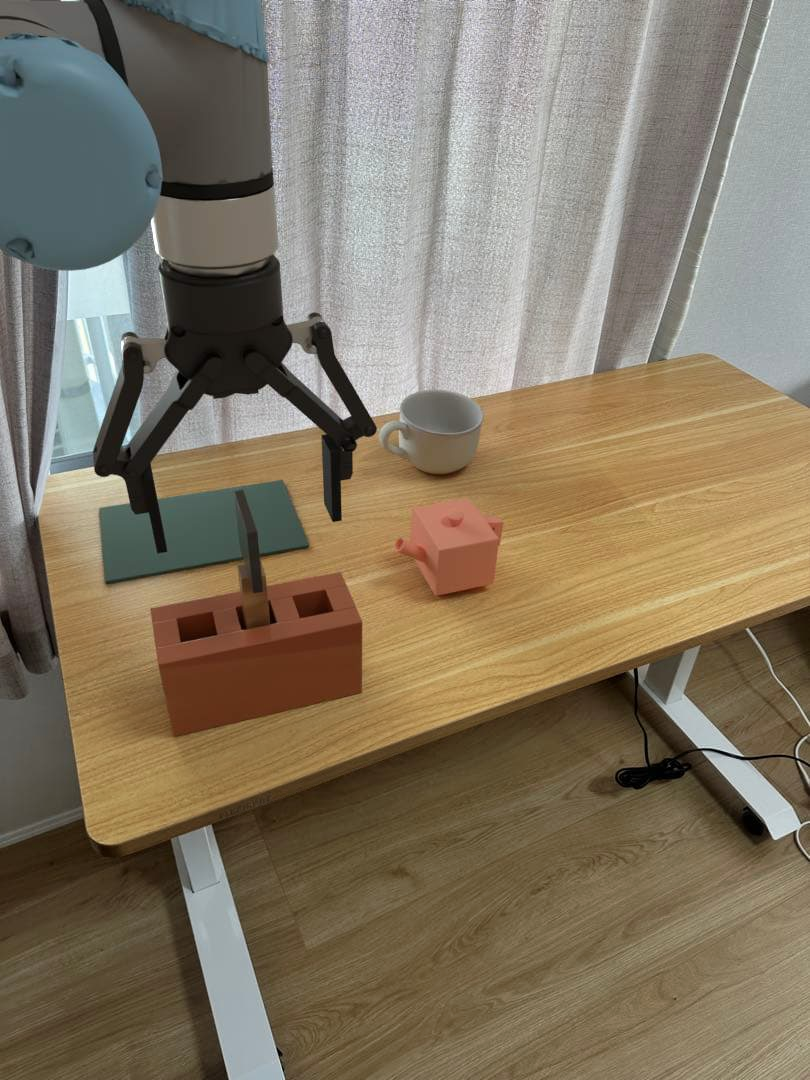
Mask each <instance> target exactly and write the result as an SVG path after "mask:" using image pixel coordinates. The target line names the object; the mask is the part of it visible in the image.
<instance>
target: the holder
mask: <svg viewBox="0 0 810 1080" xmlns="http://www.w3.org/2000/svg"><path fill="white" fill-rule="evenodd" d="M267 595H268V606H269V617H270V625H266V626H261V627H256V628H251V629H246V630H245V627H244V619H243V610H242V602H241V593H240V590H238V591H233V592H228V593H222V594H217V595H211V596H206V597H201V598H195V599H189V600H186V601H180V602H176V603H175V602H174V603H170V604H164V605H159V606H154V607H150V608H149V610H150V617H151V618H150V619H151V624H152V630H153V632H152V633H153V638H154V639H153V640H154V646H155V652H156V653H155V654H156V659H157V666H158V671H159V675H160V679H161V685H162V689H163V693H164V698H165V702H166V703H165V704H166V707H167V711H168V716H169V717H168V718H169V721H170V727H171V730H172V736H173V737H179V736H184V735H187V734H192V733H197V732H201V731H204V730H209V729H214V728H217V727H221V726H226V725H230V724H235V723H238V722H243V721H247V720H251V719H256V718H259V717H264V716H267V715H272V714H276V713H280V712H281V713H282V712H285V711H289V710H293V709H298V708H302V707H306V706H311V705H315V704H319V703H324V702H327V701H332V700H337V699H341V698H344V697H349V696H353V695H358V694H361V693H363V620H362V617H361V615H360V613H359V611H358V608H357V605H356V603H355V601H354V599H353V596H352V594H351V591H350V589H349V587H348V585H347V583H346V581H345V579H344V576H343V574H342V572H341V571H338V572H332V573H327V574H321V575H317V576H312V577H306V578H300V579H295V580H291V581H285V582H280V583H275V584H269V585H267Z"/></svg>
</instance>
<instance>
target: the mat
mask: <svg viewBox="0 0 810 1080" xmlns="http://www.w3.org/2000/svg"><path fill="white" fill-rule="evenodd" d="M241 489H243V490H244V493H245V496H246V499H247V502H248V505H249V508H250V511H251V514H252V517H253V520H254V523H255V526H256V529H257V532H258V542H259V553H260V557H265V556H271V555H275V554H282V553H287V552H293V551H299V550H305V549H309V548H310V543H309V541H308V538H307V536H306V533H305V531H304V529H303V526H302V524H301V521H300V519H299V516H298V514H297V511H296V509H295V507H294V504H293V501H292V499H291V497H290V494H289V491H288V489H287V486H286V484H285V482H284V480H283V479H277V480H271V481H267V482H266V481H265V482H259V483H251V484H245V485H240V486H232V487H225V488H219V489H213V490H206V491H200V492H194V493H187V494H180V495H175V496H174V495H173V496H167V497H161V498H157V499H158V504H159V509H160V514H161V520H162V525H163V530H164V535H165V541H166V546H167V552H163V553H158V554H157V550H156V545H155V540H154V535H153V530H152V525H151V520H150V516H149V513H143V514H137V515H135V513H134V512H133V511H132V510H131V505H130V502H129V503H122V504H116V505H108V506H102V507H98V510H99V521H100V522H99V523H100V533H101V535H100V536H101V544H102V545H101V547H102V548H101V549H102V559H103V568H104V569H103V571H104V583H105V585H108V584H115V583H120V582H126V581H131V580H137V579H142V578H148V577H154V576H159V575H165V574H171V573H176V572H181V571H187V570H192V569H199V568H205V567H210V566H216V565H220V564H227V563H232V562H237V561H244V560H243V557H242V554H241V550H240V543H239V535H238V526H237V517H236V508H235V499H234V490H241Z"/></svg>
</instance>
